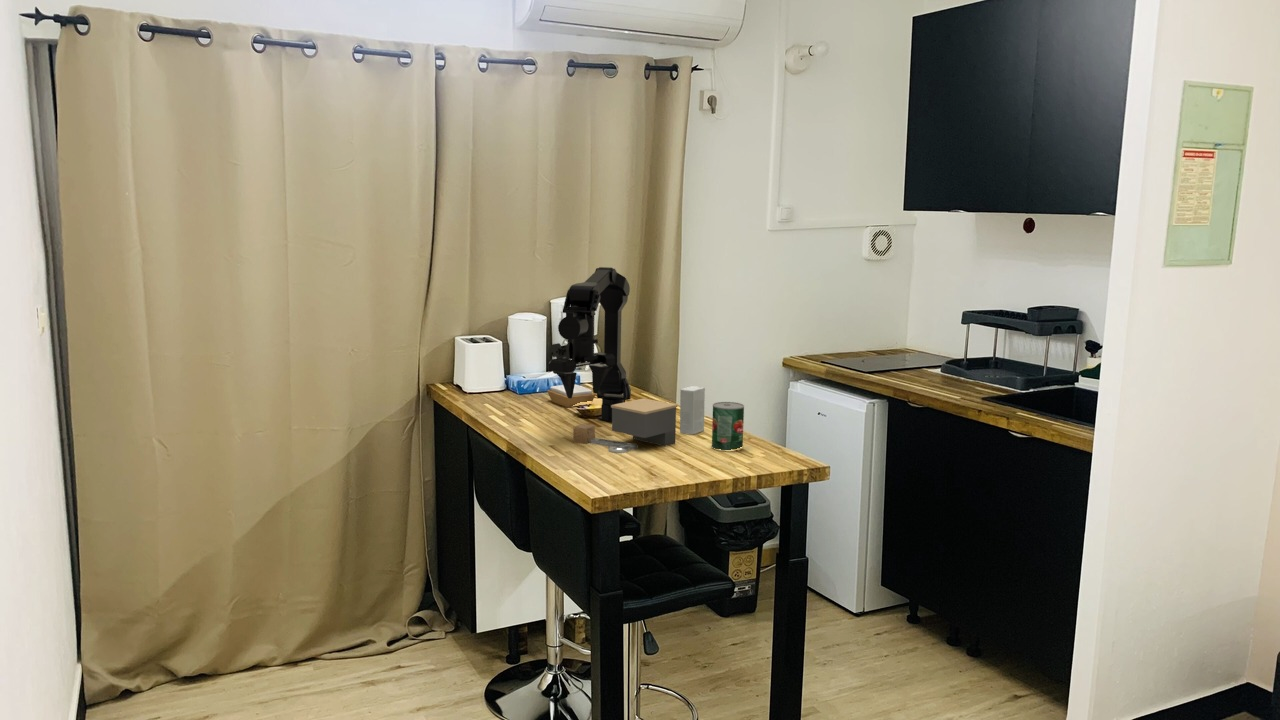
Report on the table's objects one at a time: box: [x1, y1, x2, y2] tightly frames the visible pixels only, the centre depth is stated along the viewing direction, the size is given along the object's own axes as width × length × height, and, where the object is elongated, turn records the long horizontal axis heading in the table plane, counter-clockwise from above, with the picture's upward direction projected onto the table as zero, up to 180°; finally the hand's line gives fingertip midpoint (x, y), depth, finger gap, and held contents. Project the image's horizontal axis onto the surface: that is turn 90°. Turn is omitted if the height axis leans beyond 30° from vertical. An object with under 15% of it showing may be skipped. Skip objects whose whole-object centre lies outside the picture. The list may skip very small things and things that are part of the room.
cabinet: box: [611, 398, 678, 447], centre depth 249 cm, size 12×11×10 cm
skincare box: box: [679, 385, 706, 436], centre depth 263 cm, size 6×4×12 cm
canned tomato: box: [711, 401, 745, 450], centre depth 247 cm, size 8×8×11 cm
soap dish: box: [546, 384, 596, 408], centre depth 298 cm, size 12×10×5 cm
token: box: [608, 445, 630, 454], centre depth 243 cm, size 5×5×1 cm
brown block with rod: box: [572, 423, 639, 451], centre depth 248 cm, size 4×17×4 cm, turn 62°
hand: (582, 395), depth 250 cm, fingers open, 9 cm apart
